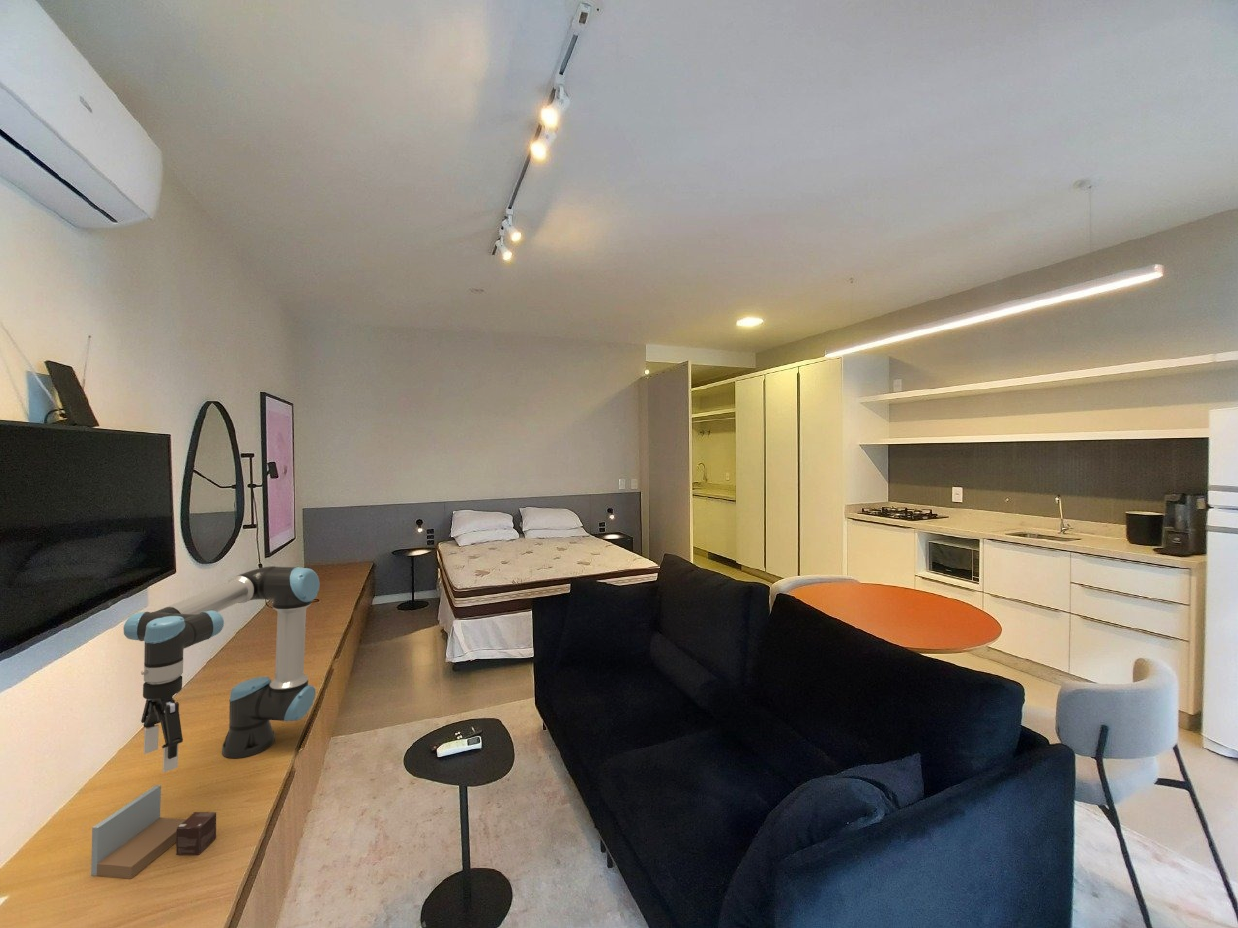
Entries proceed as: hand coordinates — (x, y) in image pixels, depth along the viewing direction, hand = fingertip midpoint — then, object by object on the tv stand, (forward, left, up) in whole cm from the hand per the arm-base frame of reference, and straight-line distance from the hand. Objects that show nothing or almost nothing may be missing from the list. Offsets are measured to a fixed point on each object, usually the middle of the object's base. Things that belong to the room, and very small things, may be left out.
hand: (160, 760), depth 129 cm
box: (-4, +7, -26) cm, 27 cm away
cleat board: (-1, -5, -25) cm, 26 cm away
